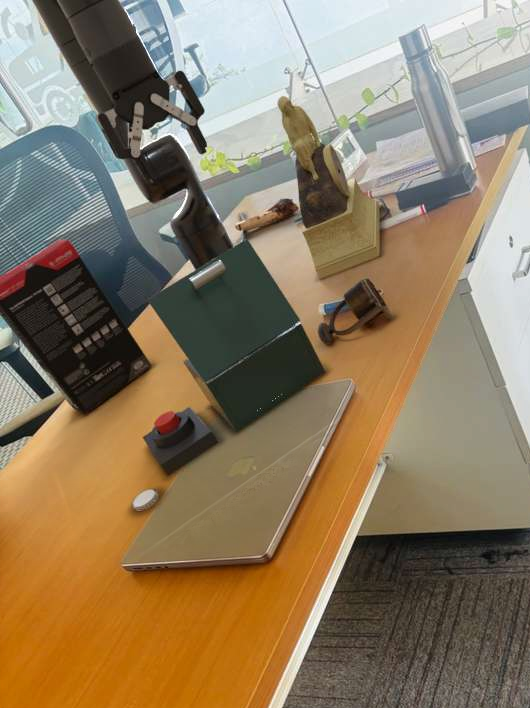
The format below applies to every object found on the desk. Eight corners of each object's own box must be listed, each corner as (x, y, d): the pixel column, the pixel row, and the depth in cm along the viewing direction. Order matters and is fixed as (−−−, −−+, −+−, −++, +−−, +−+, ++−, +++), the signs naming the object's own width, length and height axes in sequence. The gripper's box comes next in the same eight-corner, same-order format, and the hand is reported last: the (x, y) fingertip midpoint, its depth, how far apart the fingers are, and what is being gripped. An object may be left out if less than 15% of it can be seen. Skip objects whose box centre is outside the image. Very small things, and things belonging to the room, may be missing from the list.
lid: (147, 300, 97) (145, 291, 91) (246, 240, 100) (250, 228, 94) (204, 382, 99) (205, 378, 94) (299, 321, 102) (305, 314, 97)
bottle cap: (146, 490, 102) (144, 487, 101) (163, 492, 99) (161, 489, 99) (129, 509, 100) (126, 506, 99) (145, 512, 97) (143, 509, 97)
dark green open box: (211, 405, 114) (183, 361, 109) (294, 351, 118) (270, 306, 112) (236, 431, 105) (206, 384, 99) (325, 372, 108) (301, 323, 102)
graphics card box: (141, 360, 142) (56, 237, 126) (156, 365, 137) (69, 237, 121) (74, 411, 136) (-25, 288, 119) (87, 417, 131) (-15, 290, 114)
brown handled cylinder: (377, 305, 105) (384, 262, 111) (301, 318, 109) (311, 277, 115) (391, 339, 111) (397, 297, 116) (318, 350, 115) (327, 309, 120)
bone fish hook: (304, 204, 182) (245, 226, 187) (297, 187, 179) (237, 209, 184) (298, 217, 175) (236, 238, 180) (290, 198, 172) (228, 221, 177)
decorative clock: (379, 256, 134) (315, 93, 116) (319, 279, 138) (248, 124, 119) (379, 207, 156) (325, 63, 137) (327, 228, 159) (267, 90, 140)
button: (157, 429, 107) (151, 421, 106) (177, 417, 108) (171, 408, 107) (163, 437, 104) (157, 429, 103) (183, 424, 105) (177, 415, 104)
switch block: (150, 447, 112) (135, 428, 110) (196, 416, 114) (183, 397, 111) (168, 476, 103) (153, 456, 100) (218, 442, 104) (205, 422, 102)
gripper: (152, 25, 96) (211, 143, 106) (62, 72, 93) (131, 189, 103) (165, 18, 90) (227, 144, 100) (69, 68, 87) (142, 193, 97)
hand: (178, 167), depth 101 cm, fingers open, 8 cm apart
